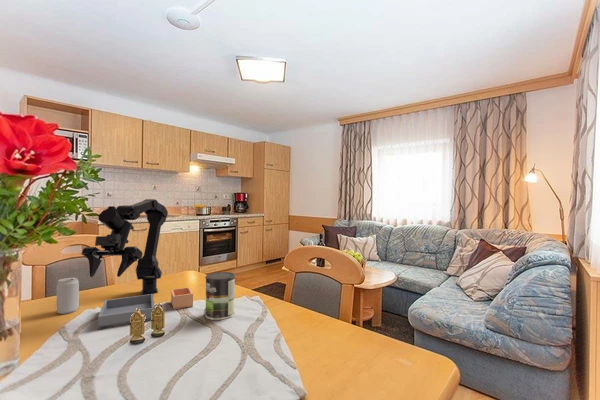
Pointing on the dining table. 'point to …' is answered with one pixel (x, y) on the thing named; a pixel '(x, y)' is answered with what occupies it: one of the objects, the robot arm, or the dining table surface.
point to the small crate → (181, 298)
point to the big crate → (124, 310)
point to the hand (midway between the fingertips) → (104, 276)
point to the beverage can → (67, 295)
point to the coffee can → (220, 295)
